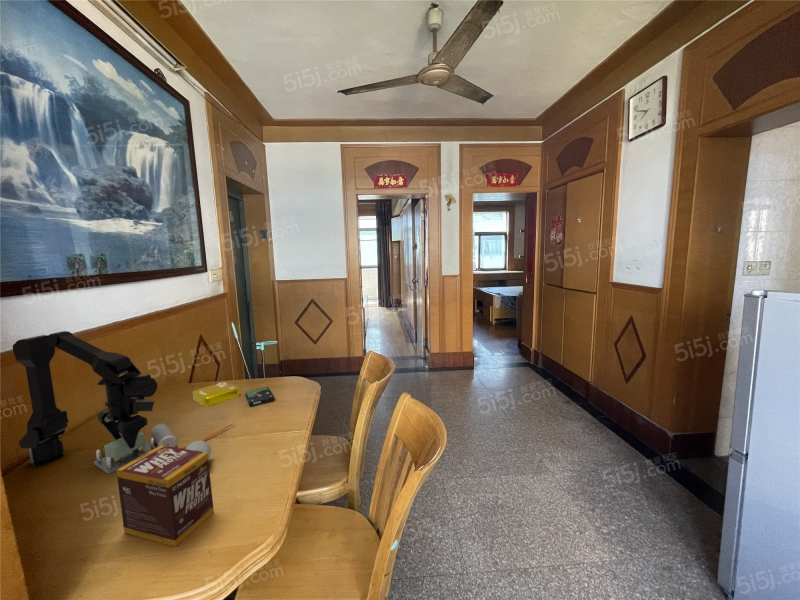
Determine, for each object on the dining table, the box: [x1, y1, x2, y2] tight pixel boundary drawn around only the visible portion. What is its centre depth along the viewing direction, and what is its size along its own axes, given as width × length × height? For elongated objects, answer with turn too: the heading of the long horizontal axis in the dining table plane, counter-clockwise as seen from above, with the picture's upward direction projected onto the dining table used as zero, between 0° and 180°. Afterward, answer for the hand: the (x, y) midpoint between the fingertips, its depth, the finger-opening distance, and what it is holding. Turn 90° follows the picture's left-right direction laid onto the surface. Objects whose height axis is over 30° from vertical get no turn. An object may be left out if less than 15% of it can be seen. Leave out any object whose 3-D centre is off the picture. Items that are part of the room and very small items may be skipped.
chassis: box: [93, 432, 158, 475], centre depth 103 cm, size 13×10×4 cm
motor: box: [150, 422, 235, 449], centre depth 118 cm, size 23×22×5 cm
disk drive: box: [244, 386, 276, 408], centre depth 147 cm, size 10×3×15 cm
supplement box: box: [115, 445, 215, 548], centre depth 76 cm, size 10×15×16 cm
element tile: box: [192, 381, 240, 408], centre depth 149 cm, size 15×15×5 cm
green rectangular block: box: [103, 432, 147, 459], centre depth 103 cm, size 8×5×4 cm, turn 161°
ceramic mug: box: [185, 440, 212, 462], centre depth 96 cm, size 11×8×8 cm
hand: (125, 444), depth 103 cm, fingers open, 9 cm apart
